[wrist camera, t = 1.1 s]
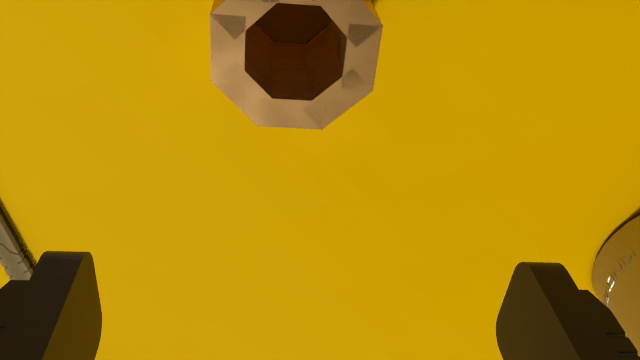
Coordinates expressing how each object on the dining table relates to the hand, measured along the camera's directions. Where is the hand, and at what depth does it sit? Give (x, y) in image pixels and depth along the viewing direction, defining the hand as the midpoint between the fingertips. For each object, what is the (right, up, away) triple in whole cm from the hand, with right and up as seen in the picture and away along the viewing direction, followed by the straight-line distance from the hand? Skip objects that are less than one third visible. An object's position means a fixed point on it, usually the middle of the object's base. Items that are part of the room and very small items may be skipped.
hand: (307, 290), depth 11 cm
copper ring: (-1, +10, +15) cm, 18 cm away
